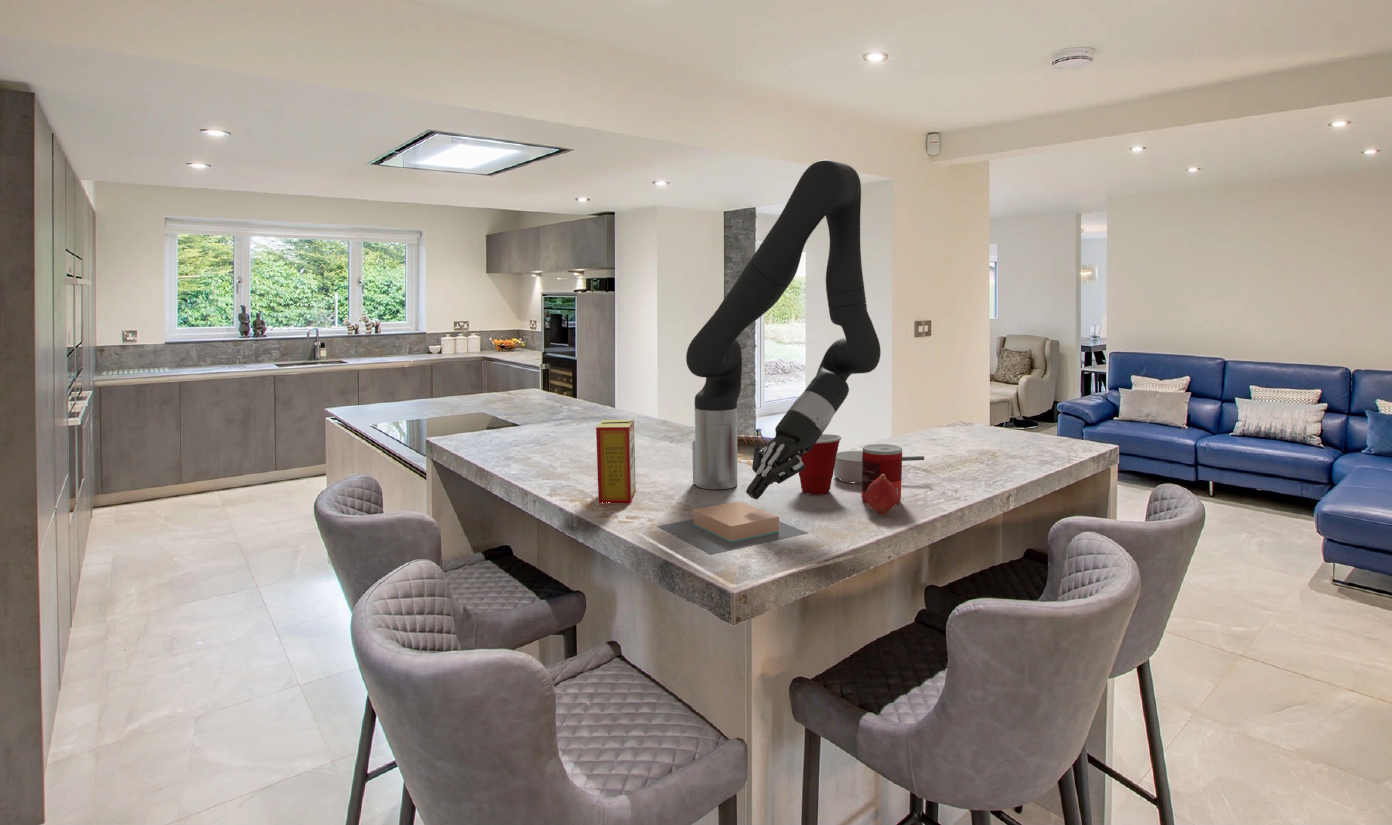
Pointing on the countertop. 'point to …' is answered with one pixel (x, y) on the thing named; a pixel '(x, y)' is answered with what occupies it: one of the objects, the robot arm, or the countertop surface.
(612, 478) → the baking soda box
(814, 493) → the plastic cup
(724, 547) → the mat
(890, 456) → the canned food
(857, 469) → the saucepan
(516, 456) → the countertop surface
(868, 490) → the onion
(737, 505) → the tile
